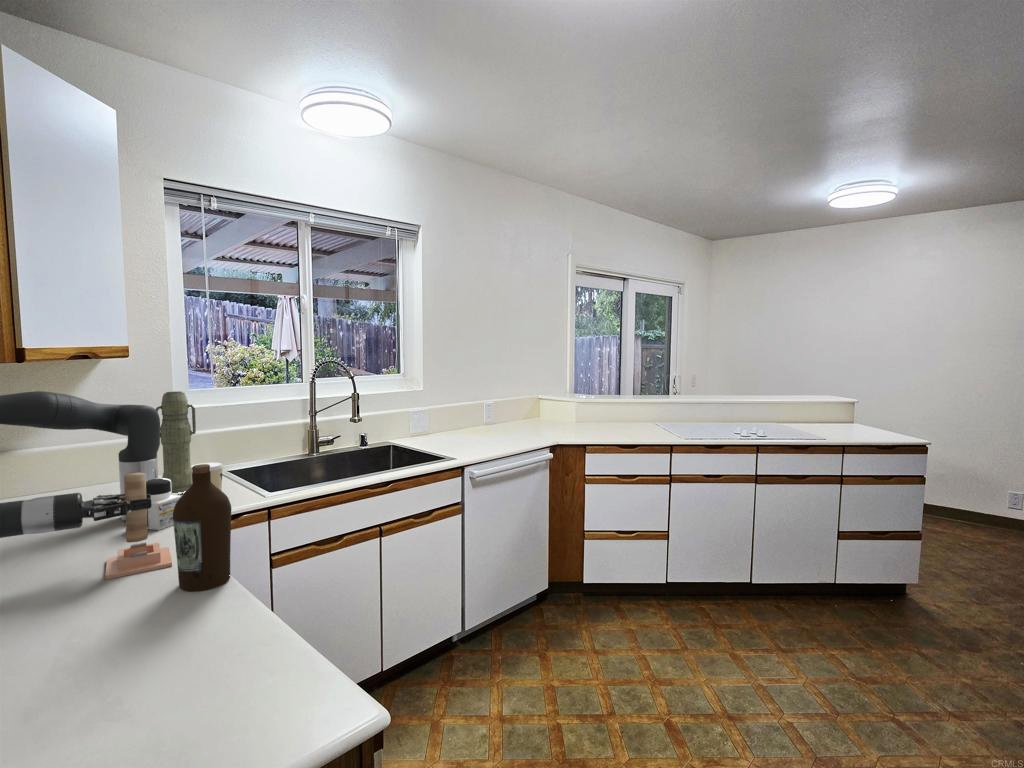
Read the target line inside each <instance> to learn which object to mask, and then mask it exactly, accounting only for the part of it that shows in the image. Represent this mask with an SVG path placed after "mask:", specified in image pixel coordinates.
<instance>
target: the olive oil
mask: <svg viewBox="0 0 1024 768" xmlns="http://www.w3.org/2000/svg"><path fill="white" fill-rule="evenodd" d="M194 465H195V464H194ZM192 470H193V473H192V481H193V483H192V485H191V487H190V488H189V489H188V490H187V491H186V492H185V493H184V494H181V496H180V499H179V500H178V501H177V503H176V505H175V507H174V511H173V518H172V519H173V525H172V526H173V533H174V542H175V553H176V554H175V555H176V562H177V563H176V564H177V575H178V587H179V589H180V590H181V591H185V592H203V591H209V590H212V589H215V588H217V587H220V586H222V585H224V584H225V583H227V582H228V581H229V580H230V579H231V543H232V542H231V541H232V540H231V534H232V533H231V532H232V504H231V501H230V498H229V496H227V494H226V493H225V492H223V491H221V490H220V489H218V488H217V487H216V486H215V485H213V484H212V483H211V471H210V465H208V464H201V465H195V466H193V467H192ZM229 575H230V576H229Z"/></svg>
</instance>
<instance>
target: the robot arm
mask: <svg viewBox="0 0 1024 768" xmlns="http://www.w3.org/2000/svg"><path fill="white" fill-rule="evenodd" d="M155 409H156V408H154V407H152V406H149V405H143V404H110V403H109V404H108V403H99V402H94V401H90V400H87V399H84V398H81V397H78V396H76V395H75V396H74V395H70V394H66V393H65V394H64V393H59V392H51V391H43V390H41V391H40V390H39V391H25V392H18V393H17V392H16V393H10V394H0V425H6V426H18V427H19V426H20V427H31V428H38V429H48V430H49V429H50V430H58V431H60V430H61V431H63V430H64V431H66V430H67V431H69V430H70V431H74V430H96V431H101V432H107V433H113V434H116V435H121V436H125V437H127V445H126V446H125V448H123V449H121V450H120V451H118V471H119V472H118V473H119V491H120V494H118V493H117V494H107V495H106V494H105V495H101V494H99V495H97V496H95V497H92V499H90V500H86V501H83V496H82V493H81V492H73V493H65V494H56V495H55V494H54V495H48V496H39V497H34V498H29V499H24V500H13V501H7V502H0V539H4V538H10V537H16V536H24V535H36V534H45V533H50V532H51V533H52V532H53V533H54V532H59V531H65V530H72V529H80V528H81V527H82V526H83V523H84V519H89V518H92V519H93V521H95V522H97V521H98V522H99V521H103V520H107V519H112V518H117V517H121V519H122V520H121V521H123V520H126V519H125V515H127V513H129V512H131V510H132V511H134V510H141V509H149V508H151V506H152V505H151V495H150V494H146V499H139V500H131V501H129V500H127V501H125V488H124V475H126V474H131V473H146V481H148V480H151V479H157V478H159V469H158V452H159V450H160V449H159V448H160V446H161V438H160V427H161V420H160V415H159V414H160V413H159V411H158V412H157V411H156V410H155Z"/></svg>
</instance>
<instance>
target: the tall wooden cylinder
mask: <svg viewBox="0 0 1024 768" xmlns="http://www.w3.org/2000/svg"><path fill="white" fill-rule="evenodd" d="M124 488H125V501H127V500H129V501H131V500H139V499H146V473H131V474H126V475H124ZM125 519H126V521H125V541H126V542H127V543H138V542H143V541H145V540H147V539H148V529H147V509H141V510H134V511H132V510H131V512H129V513H127V515H125Z"/></svg>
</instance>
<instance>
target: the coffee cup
mask: <svg viewBox="0 0 1024 768" xmlns="http://www.w3.org/2000/svg"><path fill="white" fill-rule="evenodd" d="M201 464H208V465H210V471H211V483H212V484H213V485H215V486H216V487H217V488H218V489H220V490H221V491H222V490H223V489H222V488H223V468H224V466H223V463H221V462H216V461H214V462H211V461H210V462H201V463H196V464H193V465H190V473H191V483H193V481H192V473H193V470H192V467H193V466H195V465H201ZM222 492H223V491H222Z"/></svg>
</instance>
